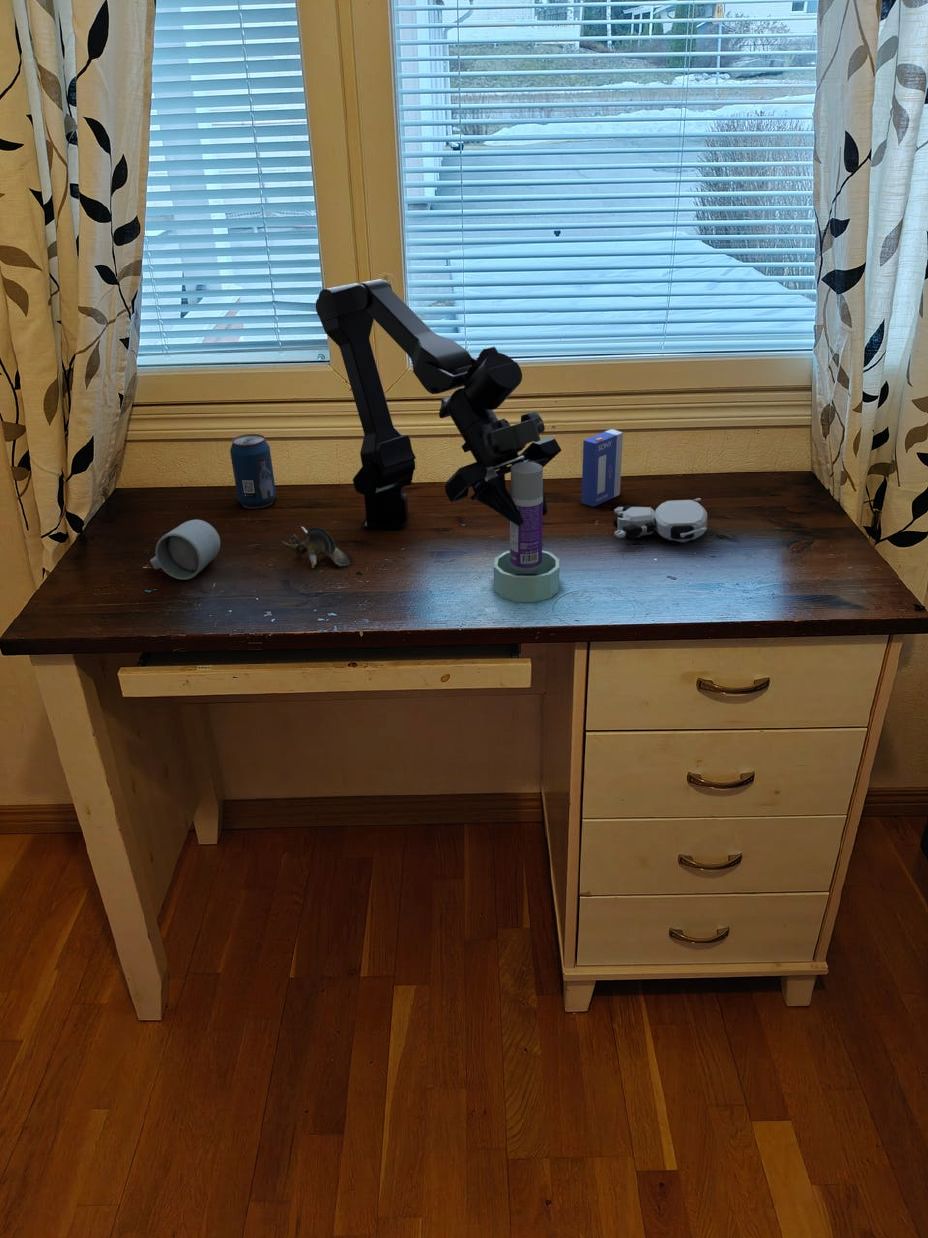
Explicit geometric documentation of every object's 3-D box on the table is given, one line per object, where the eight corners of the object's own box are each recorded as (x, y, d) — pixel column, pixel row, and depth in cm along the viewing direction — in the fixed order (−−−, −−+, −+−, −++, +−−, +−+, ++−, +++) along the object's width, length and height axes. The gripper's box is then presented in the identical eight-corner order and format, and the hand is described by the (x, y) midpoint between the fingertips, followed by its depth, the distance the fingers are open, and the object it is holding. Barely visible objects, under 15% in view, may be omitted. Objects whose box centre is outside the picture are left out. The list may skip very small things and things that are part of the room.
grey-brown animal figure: (281, 567, 147) (334, 562, 144) (280, 522, 148) (333, 516, 145) (304, 573, 154) (355, 568, 152) (303, 529, 155) (353, 524, 152)
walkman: (593, 507, 167) (595, 441, 161) (581, 503, 169) (583, 437, 163) (621, 494, 172) (624, 430, 166) (608, 490, 173) (611, 426, 167)
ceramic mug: (227, 558, 153) (219, 514, 149) (204, 582, 146) (195, 536, 142) (167, 555, 155) (157, 511, 152) (142, 578, 148) (131, 532, 145)
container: (546, 559, 141) (548, 464, 134) (534, 573, 137) (536, 475, 130) (517, 554, 143) (517, 459, 135) (504, 567, 139) (504, 471, 132)
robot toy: (613, 553, 152) (709, 550, 150) (612, 528, 150) (710, 524, 148) (613, 522, 163) (703, 519, 160) (612, 497, 161) (704, 494, 158)
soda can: (245, 494, 177) (236, 432, 171) (281, 495, 176) (273, 433, 170) (232, 509, 171) (222, 445, 165) (270, 510, 170) (261, 446, 164)
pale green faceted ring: (492, 601, 138) (491, 577, 136) (496, 571, 146) (496, 548, 144) (558, 602, 137) (559, 578, 135) (559, 572, 146) (559, 548, 144)
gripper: (456, 411, 125) (514, 513, 124) (553, 381, 136) (609, 474, 134) (420, 453, 134) (474, 548, 133) (514, 422, 145) (566, 510, 143)
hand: (533, 519), depth 135 cm, fingers closed on container, 4 cm apart
